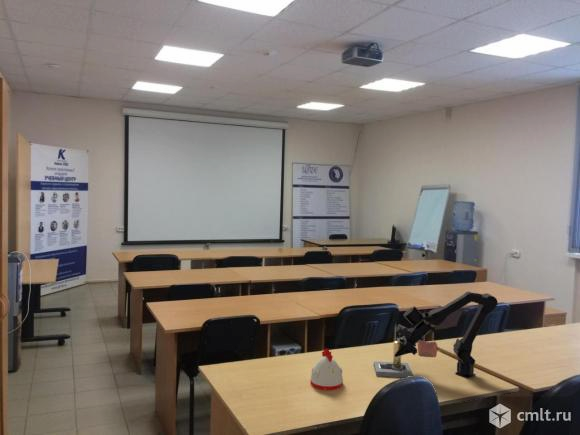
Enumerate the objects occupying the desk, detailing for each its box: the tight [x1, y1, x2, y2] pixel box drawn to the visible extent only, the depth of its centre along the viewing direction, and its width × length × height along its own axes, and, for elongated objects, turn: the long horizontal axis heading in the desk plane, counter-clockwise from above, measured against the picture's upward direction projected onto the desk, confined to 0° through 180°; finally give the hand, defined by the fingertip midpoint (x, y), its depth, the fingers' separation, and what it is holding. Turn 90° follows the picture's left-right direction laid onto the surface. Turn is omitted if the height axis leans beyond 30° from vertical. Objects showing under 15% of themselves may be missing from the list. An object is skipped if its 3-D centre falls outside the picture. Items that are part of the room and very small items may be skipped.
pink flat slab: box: [417, 340, 438, 358], centre depth 243 cm, size 27×10×2 cm, turn 163°
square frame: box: [373, 360, 413, 378], centre depth 210 cm, size 16×13×2 cm
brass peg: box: [391, 340, 404, 371], centre depth 210 cm, size 5×5×13 cm
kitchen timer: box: [310, 348, 344, 391], centre depth 195 cm, size 14×14×15 cm
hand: (394, 354), depth 210 cm, fingers closed on brass peg, 3 cm apart
